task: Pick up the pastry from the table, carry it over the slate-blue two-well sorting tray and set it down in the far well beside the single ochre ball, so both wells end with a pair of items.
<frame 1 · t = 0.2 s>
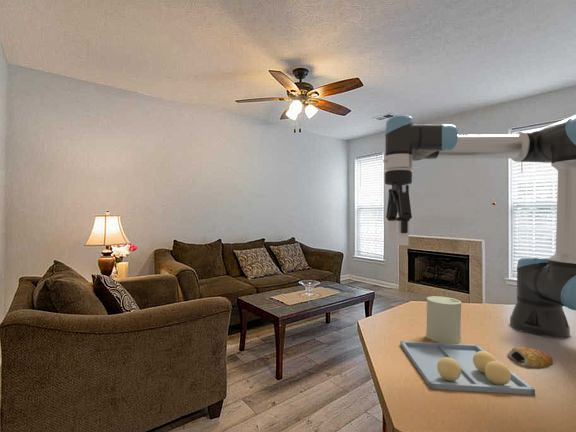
hand: (397, 243, 92), 28 cm above the table, fingers open, 13 cm apart
can: (443, 340, 92), on the table
pastry: (529, 364, 78), on the table
sorting tray: (457, 368, 74), on the table
ball near b: (497, 383, 66), point 1 cm above the table, touching sorting tray
ball near a: (484, 372, 71), point 1 cm above the table, touching sorting tray
ball far: (448, 379, 68), point 1 cm above the table, touching sorting tray
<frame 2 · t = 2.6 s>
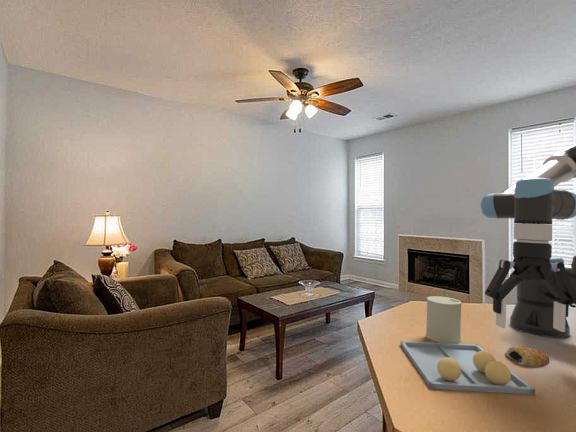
hand: (529, 328, 78), 9 cm above the table, fingers open, 13 cm apart
nothing on the table moved.
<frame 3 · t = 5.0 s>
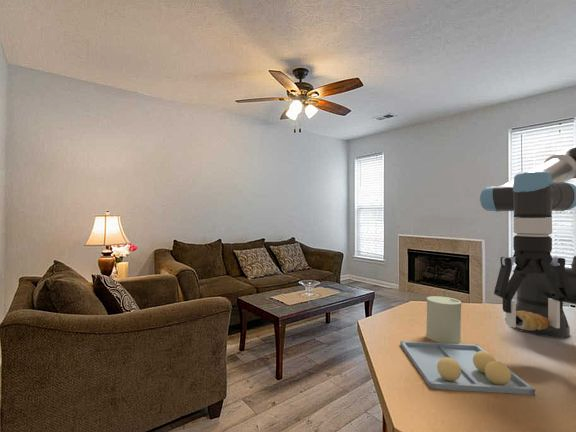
hand: (532, 325, 78), 9 cm above the table, fingers closed on pastry, 9 cm apart
pastry: (526, 327, 79), point 8 cm above the table, touching gripper
everything else where it was.
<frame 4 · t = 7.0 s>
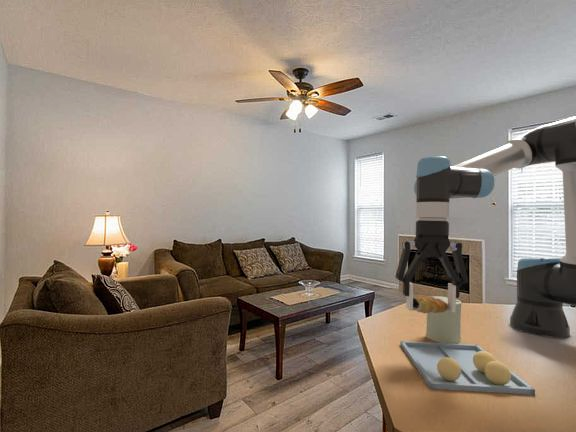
hand: (430, 309, 79), 12 cm above the table, fingers closed on pastry, 9 cm apart
pastry: (426, 311, 80), point 12 cm above the table, touching gripper
everything else where it was.
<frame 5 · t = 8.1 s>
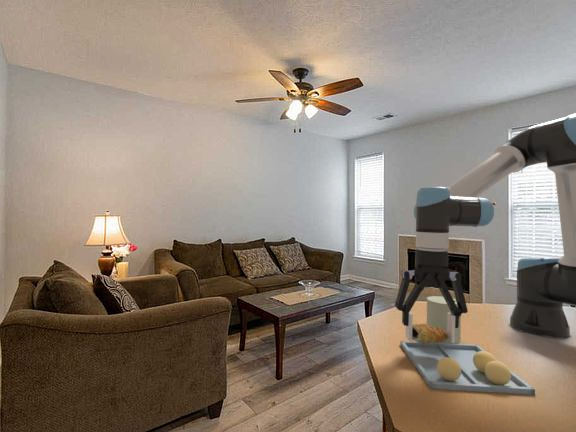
hand: (429, 339, 79), 5 cm above the table, fingers closed on pastry, 9 cm apart
pastry: (425, 340, 80), point 4 cm above the table, touching gripper
everything else where it was.
when the fingers open (3 cm above the table, at t = 9.1 s): pastry stays where it is, resting on sorting tray.
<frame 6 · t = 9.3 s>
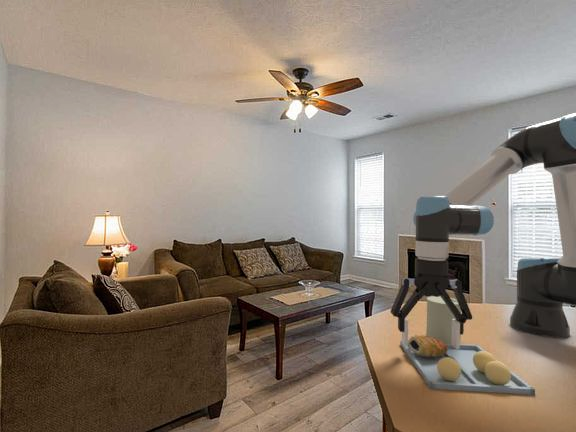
hand: (429, 345, 79), 3 cm above the table, fingers open, 11 cm apart
pastry: (425, 352, 80), point 1 cm above the table, touching sorting tray
everything else where it was.
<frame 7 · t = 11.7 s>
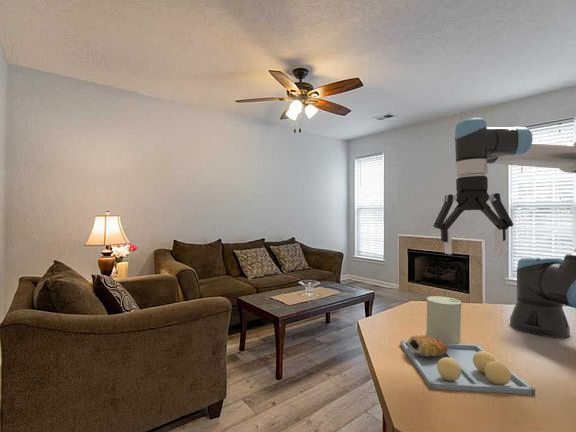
hand: (473, 253, 87), 26 cm above the table, fingers open, 13 cm apart
nothing on the table moved.
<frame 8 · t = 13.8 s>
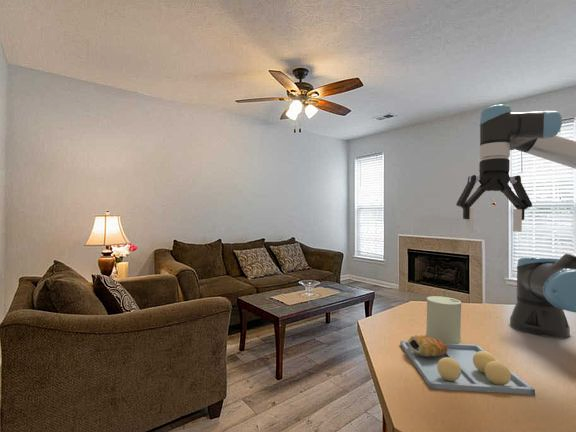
hand: (493, 231, 94), 32 cm above the table, fingers open, 13 cm apart
nothing on the table moved.
at the end: pastry inside the target area (5.1 cm from its centre), point 1.3 cm above the table; the gripper is holding nothing; ball far inside the target area (7.0 cm from its centre), point 0.6 cm above the table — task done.
